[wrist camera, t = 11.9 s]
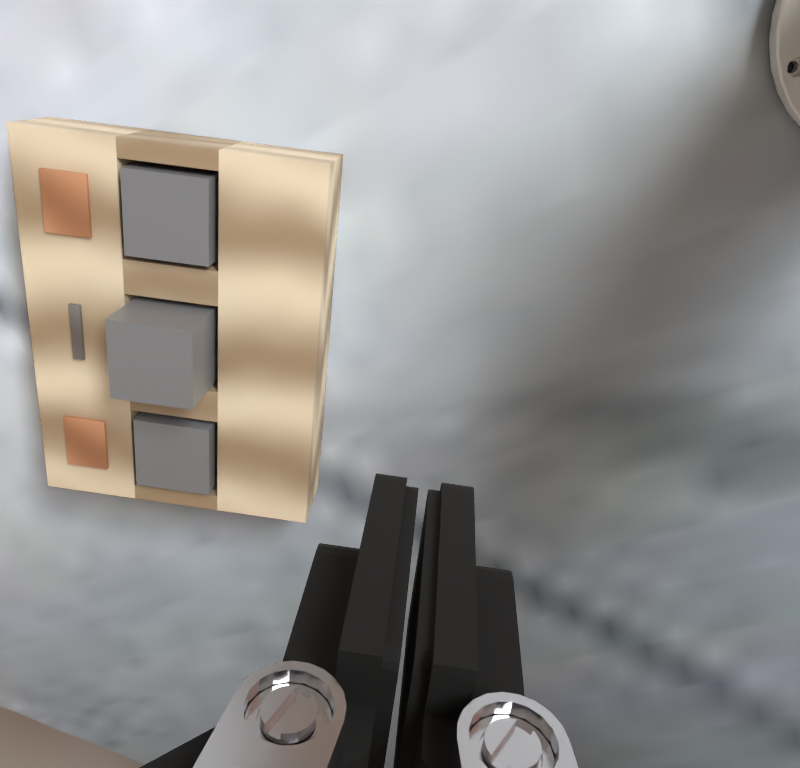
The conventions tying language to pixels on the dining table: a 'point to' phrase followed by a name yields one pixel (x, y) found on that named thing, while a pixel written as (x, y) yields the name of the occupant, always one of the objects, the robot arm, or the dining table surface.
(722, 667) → the dining table surface
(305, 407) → the switch unit
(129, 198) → the button
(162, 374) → the button
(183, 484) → the button
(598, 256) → the dining table surface
